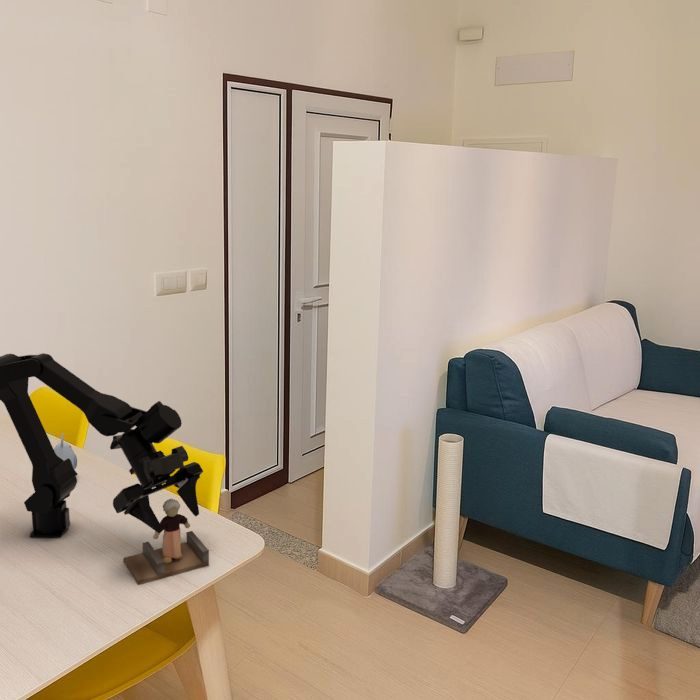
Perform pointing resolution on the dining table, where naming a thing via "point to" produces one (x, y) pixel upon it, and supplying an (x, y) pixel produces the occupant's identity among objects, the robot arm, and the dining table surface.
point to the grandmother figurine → (171, 531)
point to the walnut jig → (154, 568)
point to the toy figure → (65, 452)
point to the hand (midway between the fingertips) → (179, 523)
